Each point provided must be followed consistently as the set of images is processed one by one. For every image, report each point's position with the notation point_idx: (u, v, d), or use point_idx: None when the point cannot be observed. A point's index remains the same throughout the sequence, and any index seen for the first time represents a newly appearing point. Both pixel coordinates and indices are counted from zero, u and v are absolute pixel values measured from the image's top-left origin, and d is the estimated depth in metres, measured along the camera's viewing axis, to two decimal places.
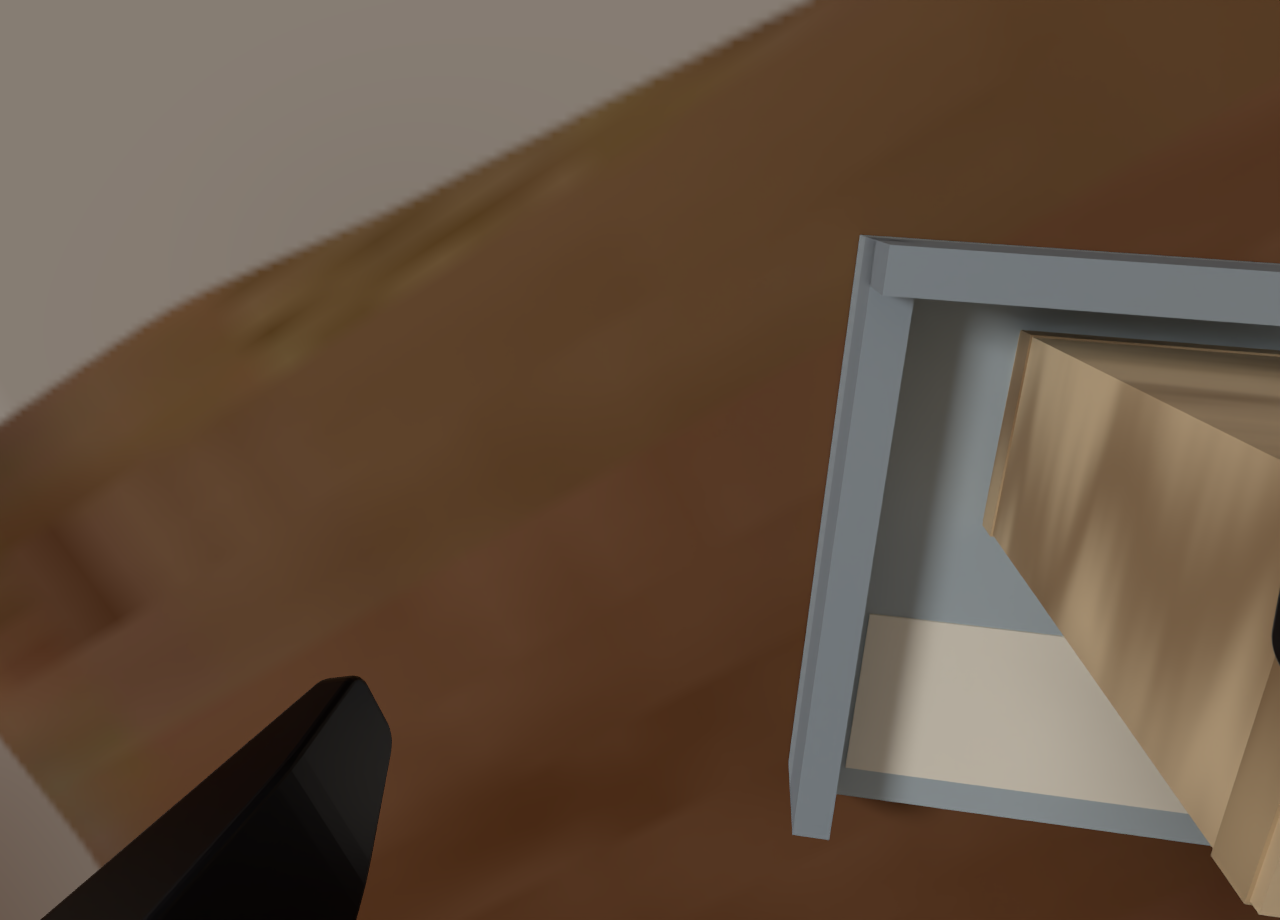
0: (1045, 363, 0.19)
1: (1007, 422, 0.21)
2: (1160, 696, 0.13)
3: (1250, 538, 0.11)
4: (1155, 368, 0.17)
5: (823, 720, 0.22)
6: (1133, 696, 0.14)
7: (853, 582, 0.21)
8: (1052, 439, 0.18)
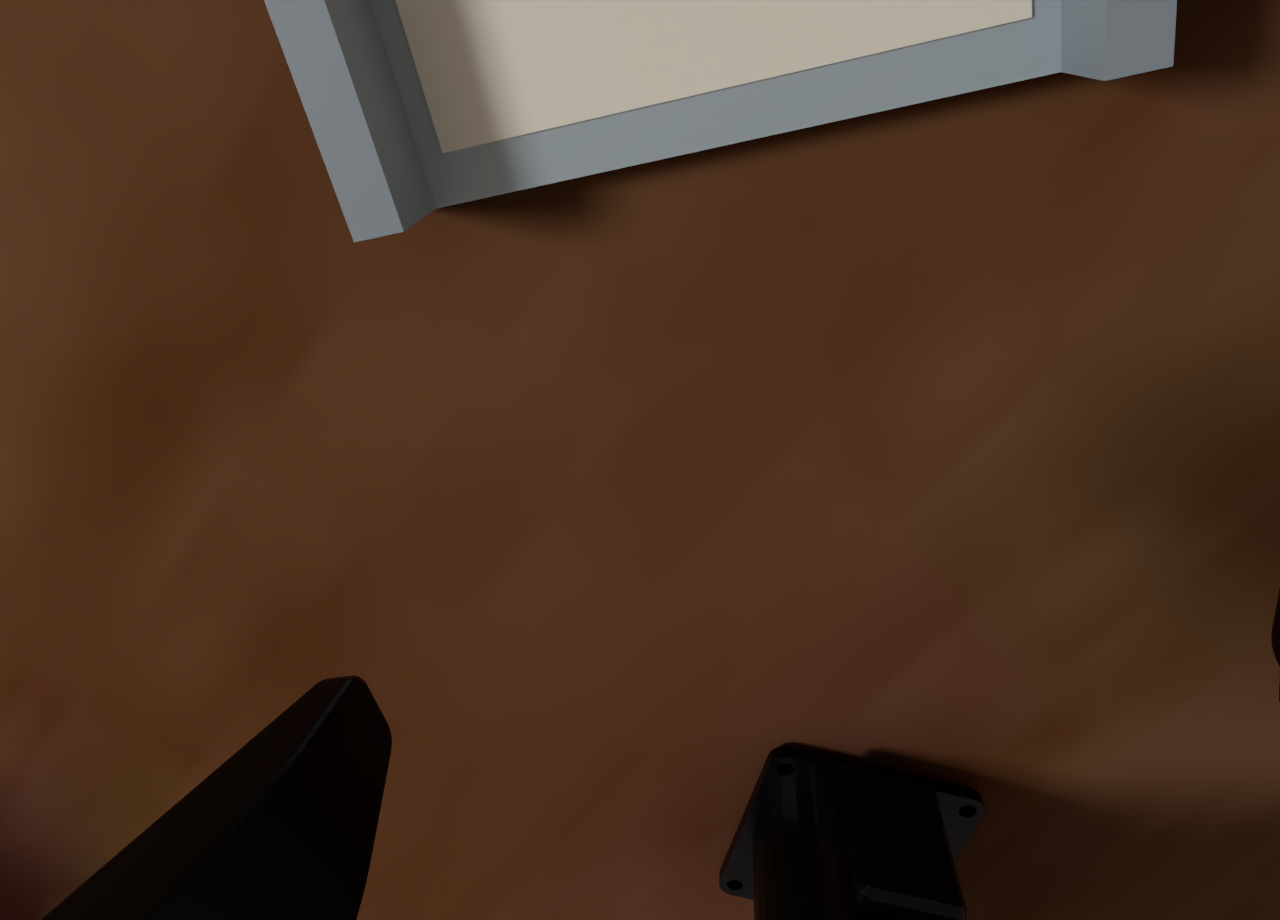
0: None
1: None
2: None
3: None
4: None
5: (292, 15, 0.14)
6: None
7: None
8: None
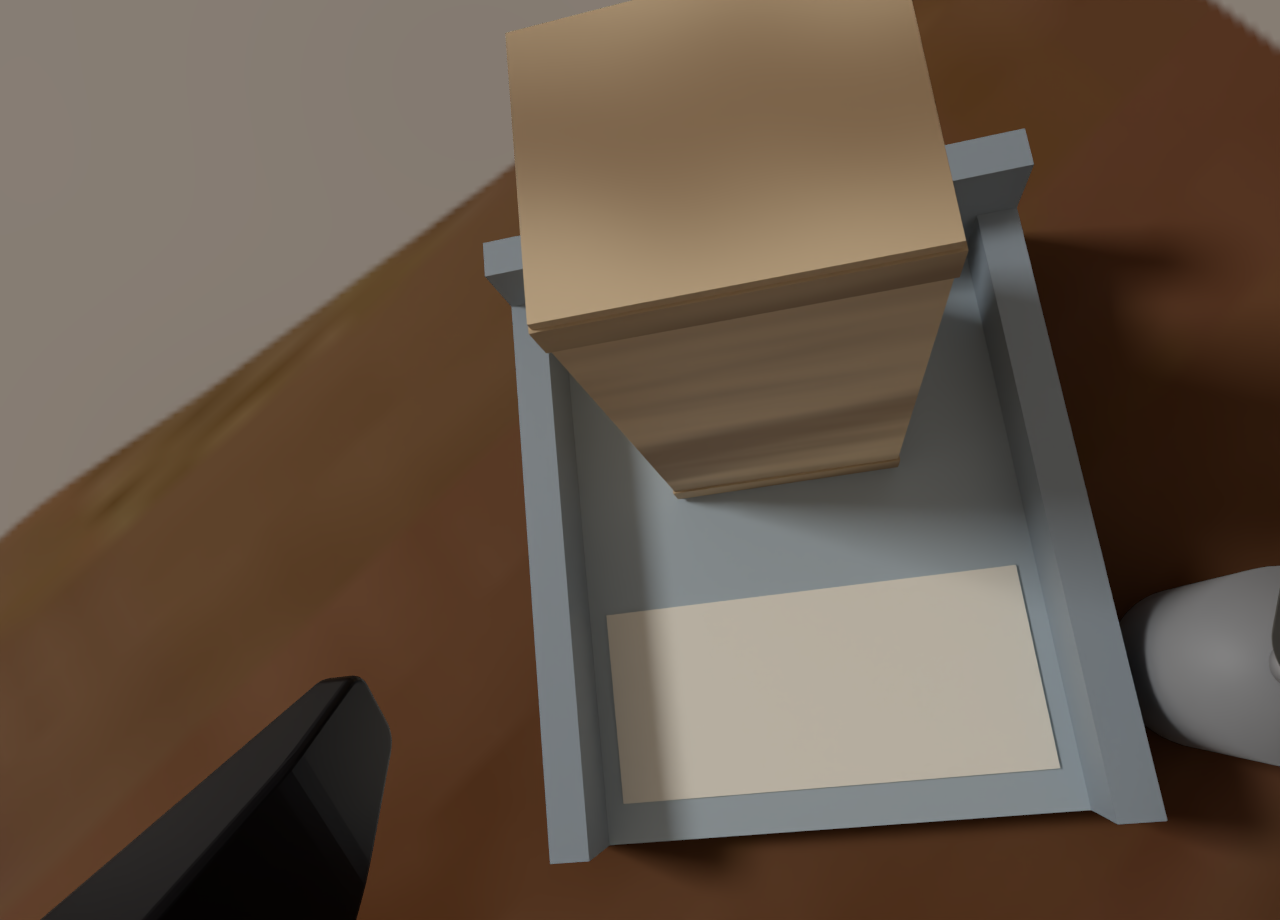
0: None
1: None
2: None
3: None
4: None
5: (553, 705, 0.22)
6: None
7: (550, 549, 0.23)
8: None
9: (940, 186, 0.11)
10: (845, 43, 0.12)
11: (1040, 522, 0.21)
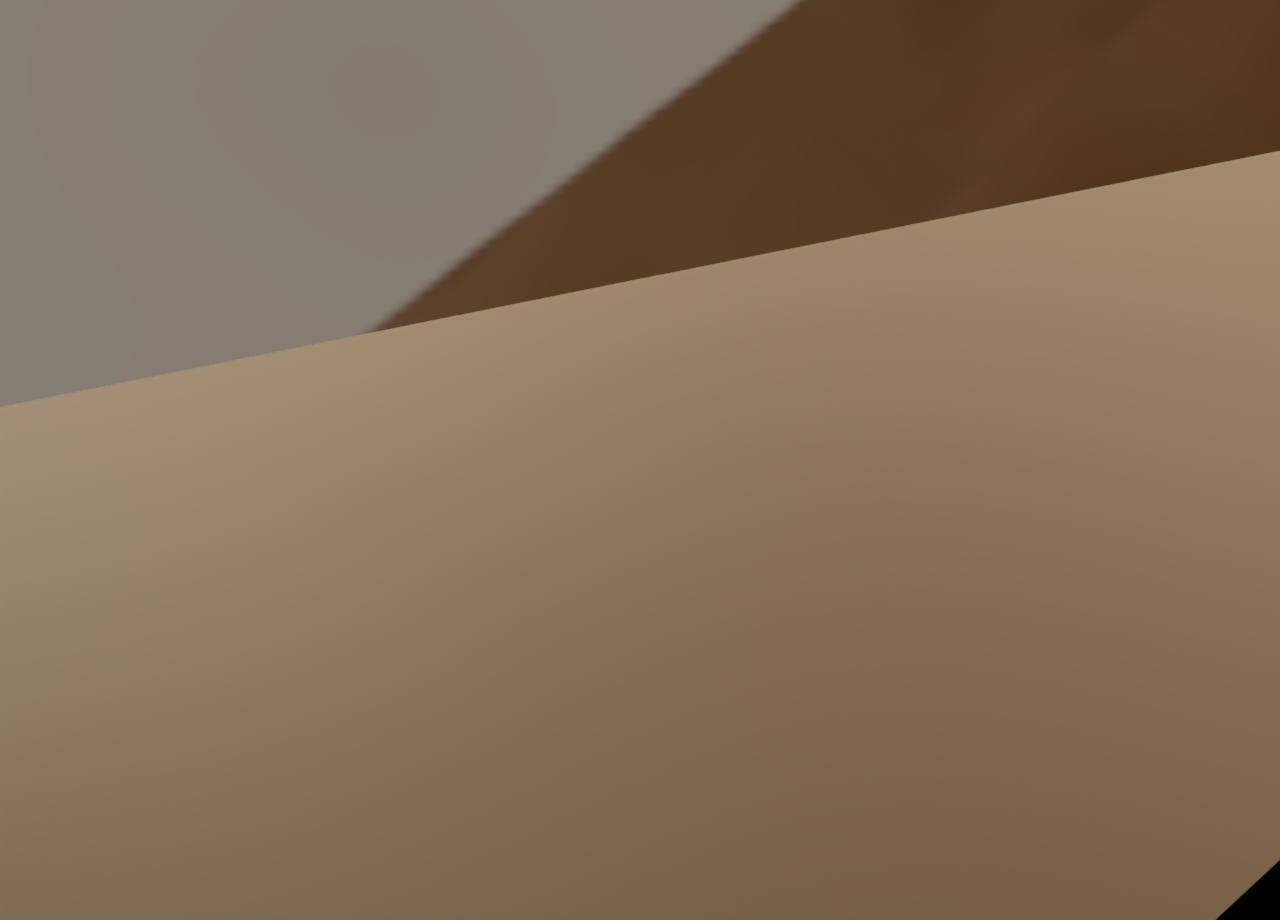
0: None
1: None
2: None
3: None
4: None
5: None
6: None
7: None
8: None
9: None
10: None
11: None
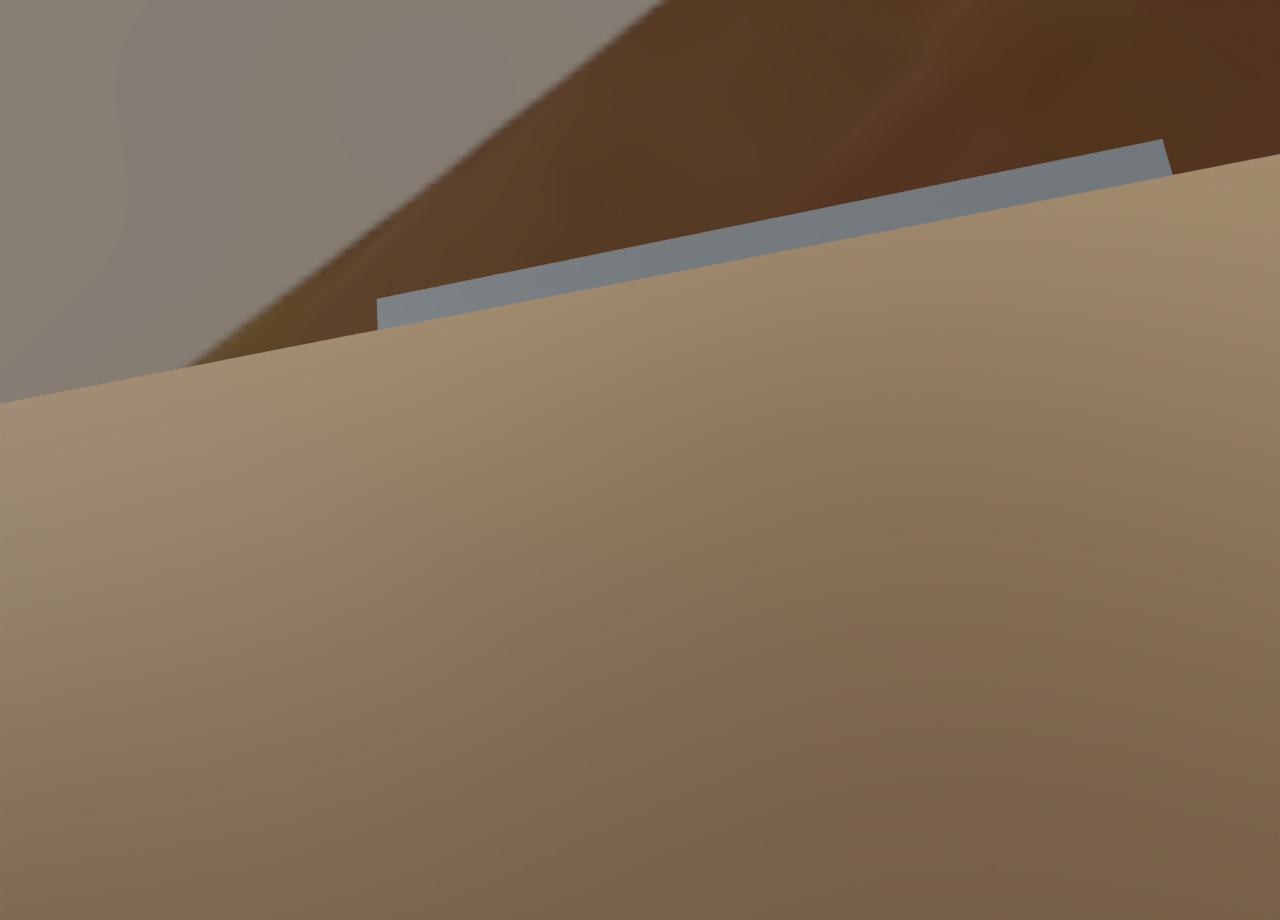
0: None
1: None
2: None
3: None
4: None
5: None
6: None
7: None
8: None
9: None
10: None
11: None
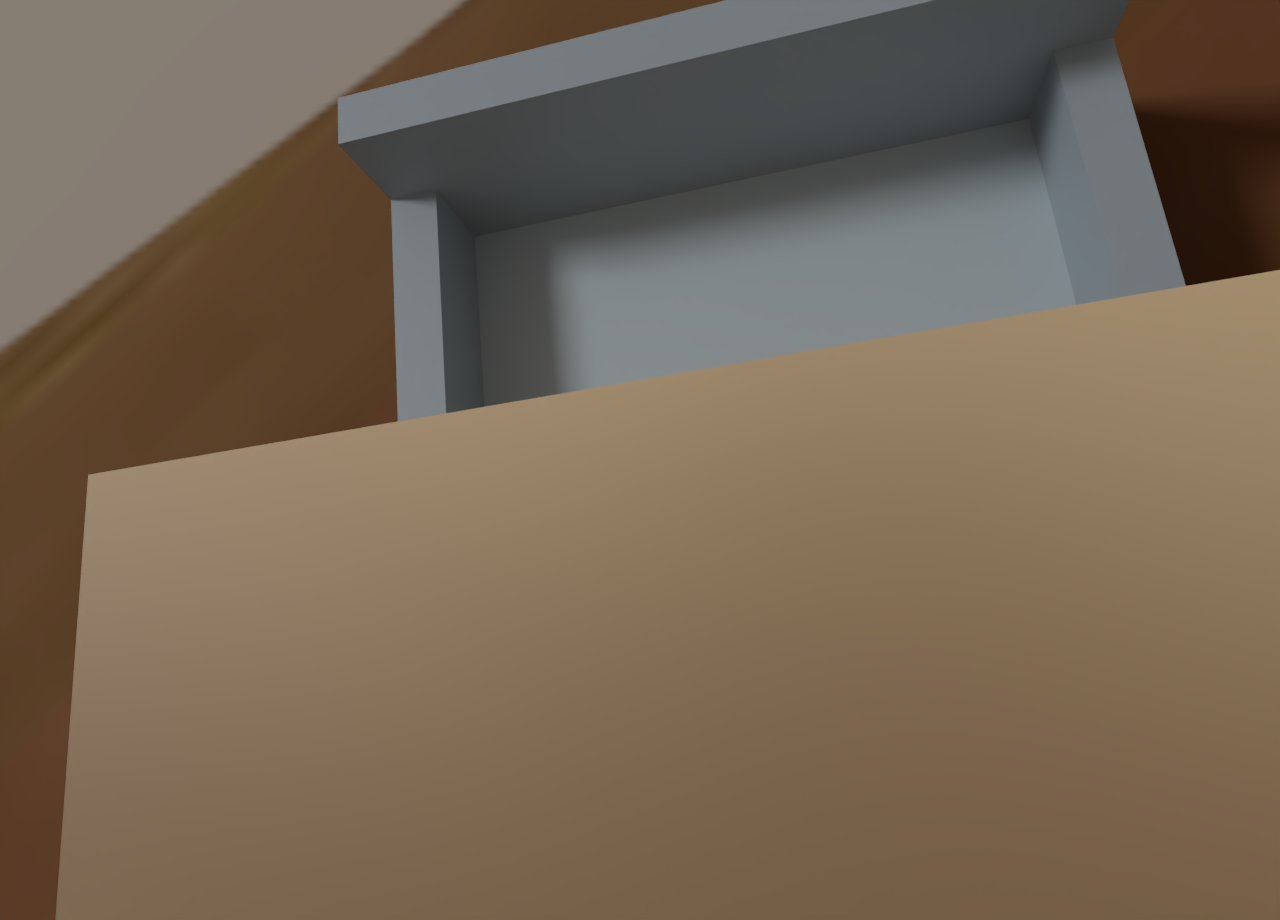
0: None
1: None
2: None
3: None
4: None
5: None
6: None
7: None
8: None
9: None
10: None
11: None
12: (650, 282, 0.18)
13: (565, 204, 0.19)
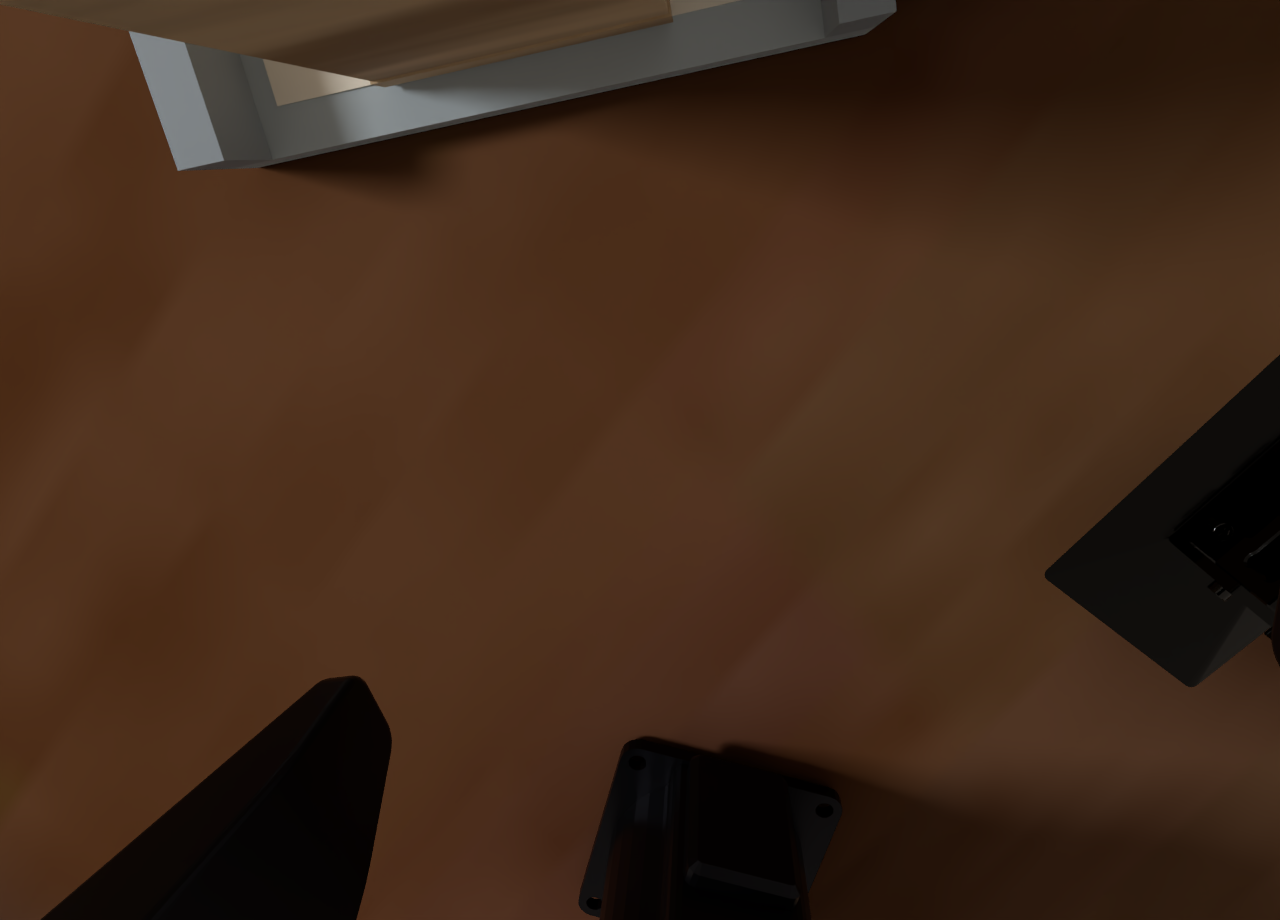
0: None
1: None
2: None
3: None
4: None
5: None
6: None
7: None
8: None
9: None
10: None
11: None
12: None
13: None
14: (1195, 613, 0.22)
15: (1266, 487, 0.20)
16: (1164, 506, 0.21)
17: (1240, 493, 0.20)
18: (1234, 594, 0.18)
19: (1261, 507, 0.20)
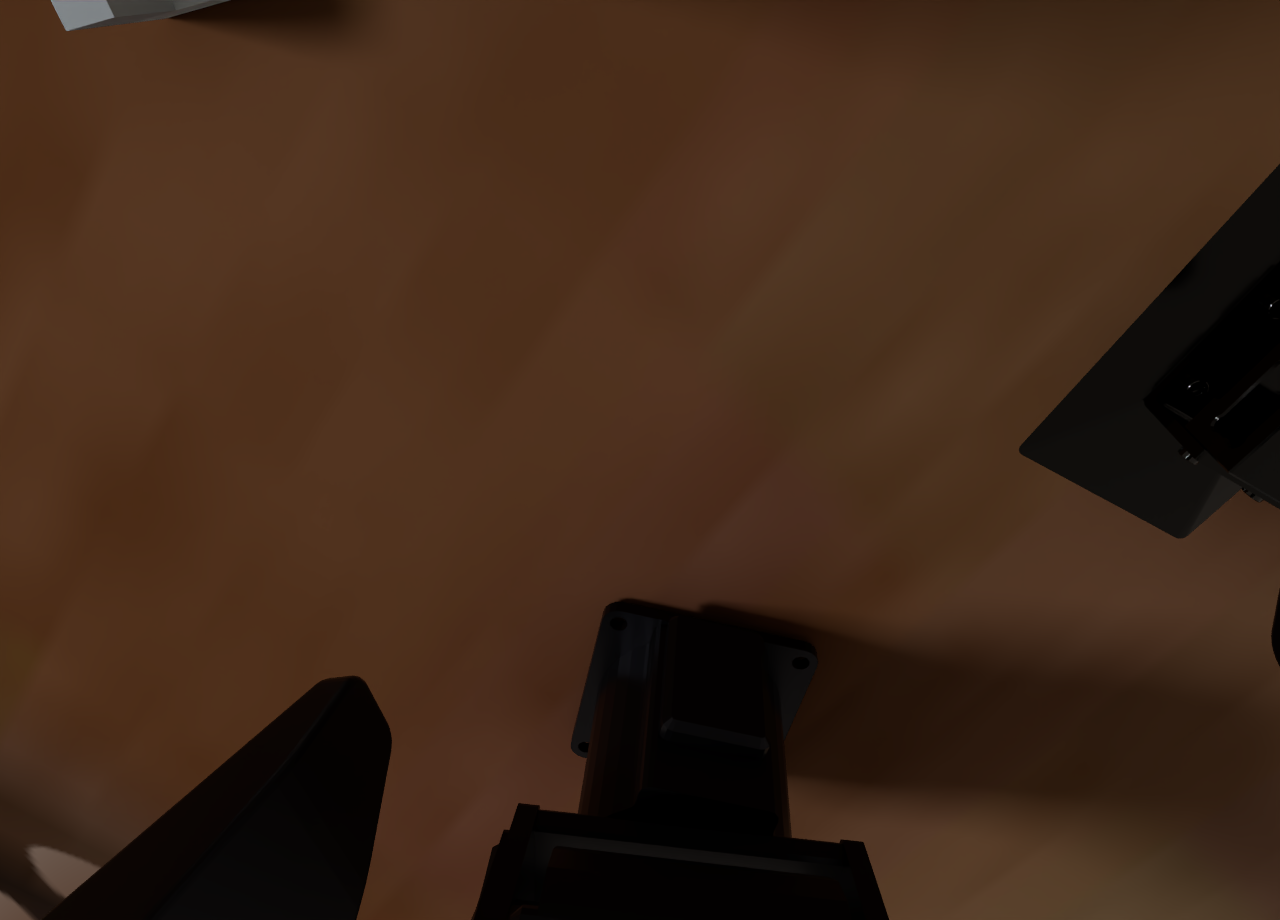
0: None
1: None
2: None
3: None
4: None
5: None
6: None
7: None
8: None
9: None
10: None
11: None
12: None
13: None
14: (1178, 469, 0.21)
15: (1242, 337, 0.19)
16: (1136, 369, 0.20)
17: (1214, 347, 0.19)
18: (1200, 461, 0.18)
19: (1239, 359, 0.19)
